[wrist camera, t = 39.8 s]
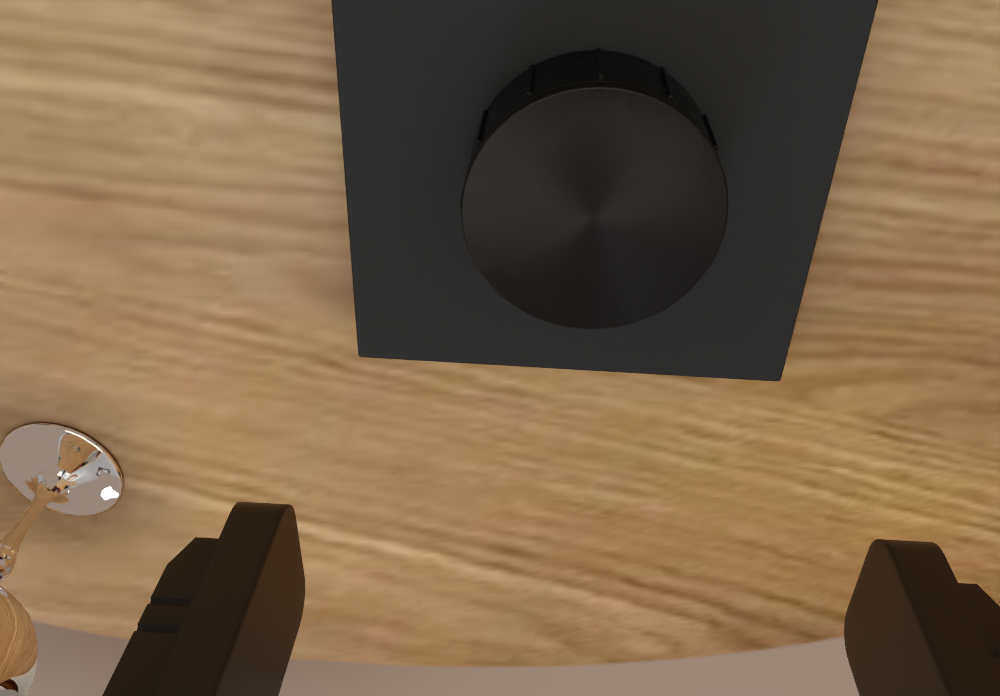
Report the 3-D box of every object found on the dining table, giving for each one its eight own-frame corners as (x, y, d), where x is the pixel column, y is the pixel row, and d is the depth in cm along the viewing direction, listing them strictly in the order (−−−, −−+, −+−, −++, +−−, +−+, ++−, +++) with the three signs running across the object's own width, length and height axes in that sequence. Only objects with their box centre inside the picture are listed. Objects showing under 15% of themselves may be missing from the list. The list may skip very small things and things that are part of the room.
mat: (774, 363, 28) (781, 383, 27) (364, 340, 28) (358, 357, 27) (888, -96, 20) (902, -89, 20) (331, -118, 21) (322, -112, 20)
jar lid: (659, 298, 25) (669, 356, 23) (447, 242, 25) (434, 294, 22) (752, 89, 22) (774, 131, 20) (507, 17, 21) (499, 51, 19)
